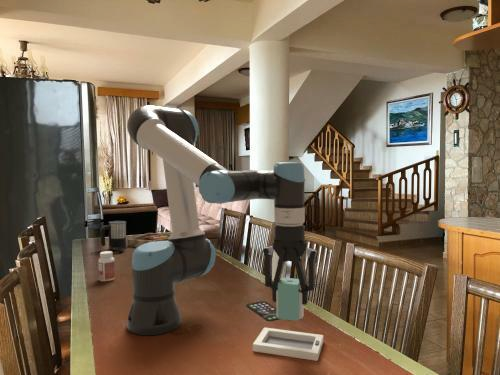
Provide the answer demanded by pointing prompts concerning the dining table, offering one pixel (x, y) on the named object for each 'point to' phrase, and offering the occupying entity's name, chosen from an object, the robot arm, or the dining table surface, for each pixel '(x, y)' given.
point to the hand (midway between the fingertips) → (290, 315)
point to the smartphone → (264, 310)
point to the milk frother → (115, 235)
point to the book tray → (142, 239)
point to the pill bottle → (106, 266)
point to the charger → (288, 299)
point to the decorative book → (156, 238)
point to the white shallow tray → (289, 343)
